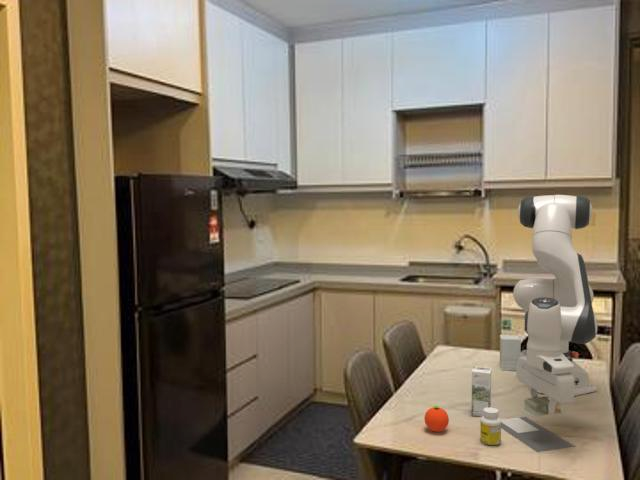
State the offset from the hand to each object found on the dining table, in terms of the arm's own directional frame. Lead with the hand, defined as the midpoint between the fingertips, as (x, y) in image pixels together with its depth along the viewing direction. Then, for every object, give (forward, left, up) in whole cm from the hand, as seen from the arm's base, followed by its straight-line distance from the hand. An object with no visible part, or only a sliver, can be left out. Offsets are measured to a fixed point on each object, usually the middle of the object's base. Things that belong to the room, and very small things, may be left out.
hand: (542, 407), depth 158 cm
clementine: (+24, -16, -10) cm, 31 cm away
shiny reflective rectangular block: (0, 0, -1) cm, 1 cm away
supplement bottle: (+15, -2, -10) cm, 18 cm away
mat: (0, -5, -10) cm, 11 cm away
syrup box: (+5, -23, -10) cm, 25 cm away
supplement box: (-32, -63, -10) cm, 71 cm away
